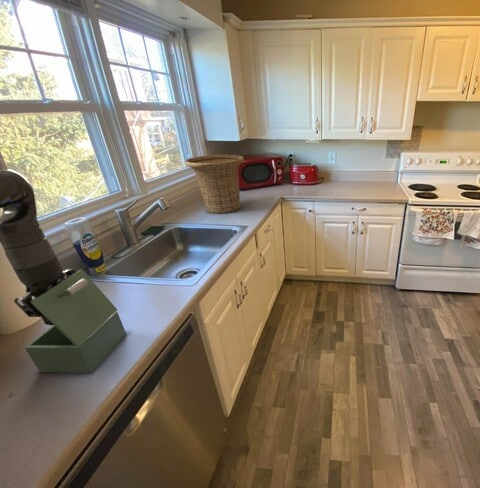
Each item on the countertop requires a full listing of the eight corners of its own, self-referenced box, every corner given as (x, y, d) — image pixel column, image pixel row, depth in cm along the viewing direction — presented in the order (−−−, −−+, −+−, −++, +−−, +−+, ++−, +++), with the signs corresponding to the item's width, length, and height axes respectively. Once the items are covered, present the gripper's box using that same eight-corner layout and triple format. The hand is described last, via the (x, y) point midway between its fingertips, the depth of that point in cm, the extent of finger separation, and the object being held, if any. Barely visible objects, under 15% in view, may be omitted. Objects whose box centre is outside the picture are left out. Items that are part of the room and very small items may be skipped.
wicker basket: (231, 220, 170) (222, 164, 155) (183, 215, 179) (170, 162, 164) (259, 203, 200) (253, 155, 185) (217, 199, 209) (208, 153, 194)
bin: (40, 372, 72) (24, 347, 68) (82, 334, 84) (70, 311, 80) (92, 373, 72) (78, 348, 68) (126, 334, 84) (117, 311, 80)
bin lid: (30, 302, 62) (46, 295, 61) (79, 270, 74) (93, 264, 73) (76, 347, 68) (92, 341, 67) (115, 310, 80) (129, 305, 79)
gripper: (46, 245, 72) (72, 299, 79) (-17, 275, 59) (22, 336, 66) (75, 245, 71) (99, 299, 79) (18, 275, 58) (53, 336, 66)
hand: (63, 315), depth 72 cm, fingers closed on lemon, 5 cm apart
